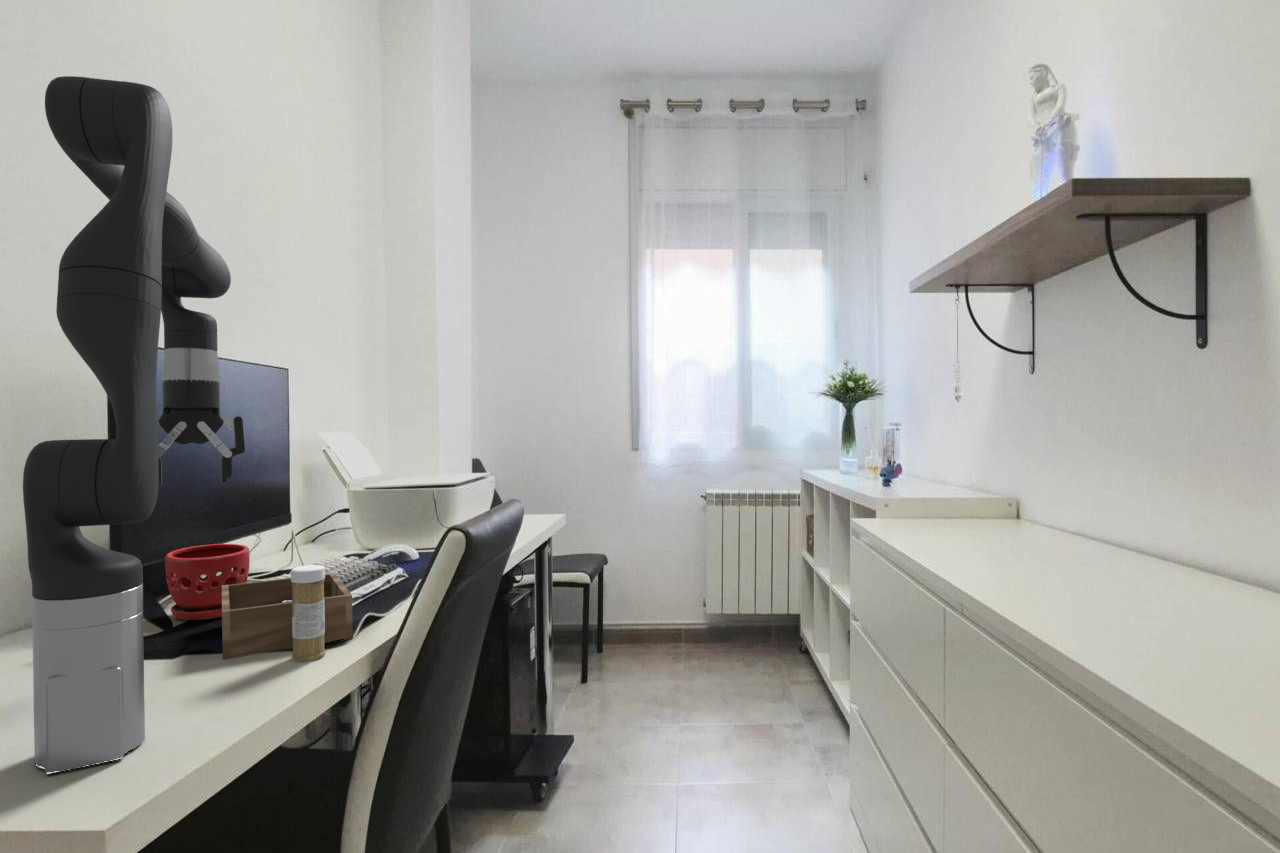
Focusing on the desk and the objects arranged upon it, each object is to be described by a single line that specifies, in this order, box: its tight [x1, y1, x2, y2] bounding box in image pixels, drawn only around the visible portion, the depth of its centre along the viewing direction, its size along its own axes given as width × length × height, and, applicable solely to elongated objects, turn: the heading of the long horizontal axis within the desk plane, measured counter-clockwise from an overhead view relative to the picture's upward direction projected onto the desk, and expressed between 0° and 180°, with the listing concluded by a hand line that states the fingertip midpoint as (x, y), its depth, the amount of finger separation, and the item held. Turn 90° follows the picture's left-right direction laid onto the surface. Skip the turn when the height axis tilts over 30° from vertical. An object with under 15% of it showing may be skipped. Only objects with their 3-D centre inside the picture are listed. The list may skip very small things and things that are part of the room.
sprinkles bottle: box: [290, 564, 326, 662], centre depth 102 cm, size 5×5×13 cm
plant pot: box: [164, 543, 250, 621], centre depth 126 cm, size 13×13×12 cm
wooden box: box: [221, 572, 354, 660], centre depth 115 cm, size 20×18×7 cm
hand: (192, 482), depth 108 cm, fingers open, 8 cm apart
